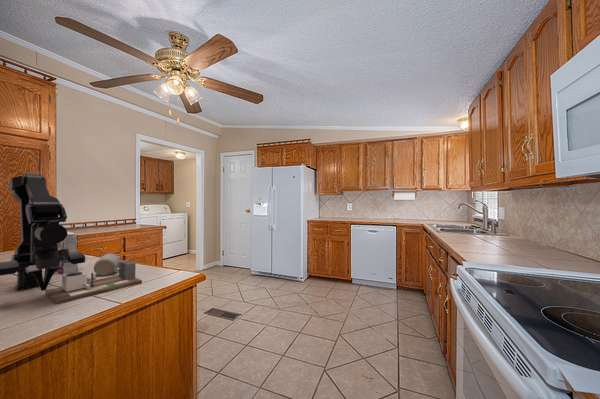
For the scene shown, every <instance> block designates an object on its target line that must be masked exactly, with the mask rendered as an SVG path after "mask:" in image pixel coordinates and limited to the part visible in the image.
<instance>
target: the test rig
mask: <svg viewBox="0 0 600 399" xmlns="http://www.w3.org/2000/svg"><path fill="white" fill-rule="evenodd" d="M136 266H137V265H136V262H134V261H131V260H128V259H126V260H120V261H119V268H118V269H119V273H118V274H117V275H114V276H109V277H103V278H99V279H98V278H97V279H95V280H93V285H94V287H92V288H91V281H87V284H89V285H90V288H88V289H87V288H82V289H77V290H73V291H68V292H66V291H65V290H64V289H63V288H62V286H60V287H55V288H51V289H46V290H44V291H45V294H46V296H47V297H48V298H49V299H50V300H51V301H52V303H53V304H54V305H58V304H62V303H67V302H71V301H76V300H79V299H84V298H87V297H91V296H95V295H99V294H104V293H108V292H113V291H117V290H120V289H124V288H128V287H129V288H130V287H132V286H136V285H137V286H138V285H141V284H142V283H143V280H141V279H139V278H137V277H136Z"/></svg>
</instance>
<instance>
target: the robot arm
mask: <svg viewBox="0 0 600 399" xmlns="http://www.w3.org/2000/svg"><path fill="white" fill-rule="evenodd" d="M8 190H9V191H11V195H12V197H13V198H14V199H15V200H16V201H17V202H18V203H19V206H18V207H19V222H20V243H19V245H18V246H17V247H16V249H15V250H14V254H12V256H11V260H9V261H3V262H2V261H1V262H0V276H1V277H2V276H6V275H12V274H13V275H15V274H16V275H17V276H16V277H17V278H16V284H15V285H13V287H14V290H16V291H17V292H18V291H23V290H27V289H28V290H29V289H32V288H38V287H39V288H40V290H41V291H42V292H43V291H45V290H47V289H48V286H49V283H50V281H51V280H52V277H53V276H54V274H55V273H56V272H58V271H57V270H58V269H61V268H62V267H61V266H60V264H61V263H66V262H70V263H72V264H78V265H79V264H84V263H86V255H85V254H83V253H81V252H78V253H71V254H69V250H68V249H62V250H58V248H57V243H60V242H62V241H63V240H64V239H65V238H66V237H67V232H68V230H67V229H66V227H65V226H63V225H61V224H60V223H66V222H67V219H68V215H67V212H66V209H65V207H64V206H63V205H64V204H62V203H61V202H60V201H59V199H58V198H57V197H54V196H52V195H51V194H50V192H49V190H48V187H47V179H46V178H45V175H43V174H36V173H35V174H34V173H33V174H32V173H24V174H21V175H19V176H12V177H11V178H10V179H9V183H8ZM43 270H44V274H43ZM43 275H44V276H43Z"/></svg>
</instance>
